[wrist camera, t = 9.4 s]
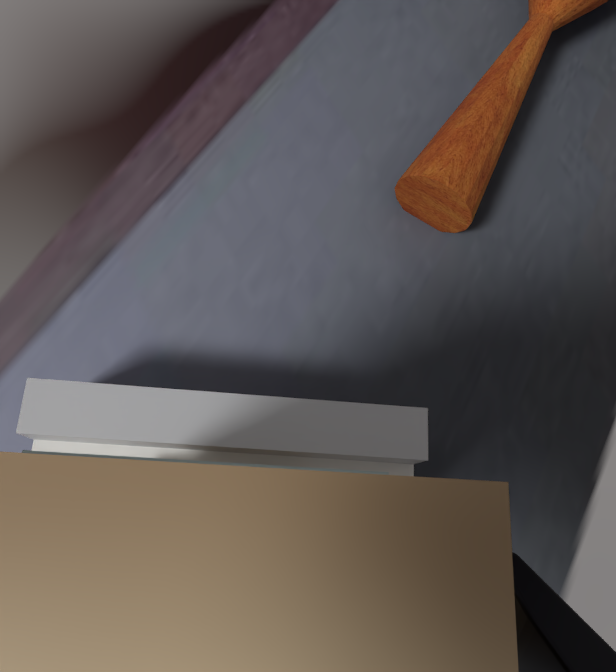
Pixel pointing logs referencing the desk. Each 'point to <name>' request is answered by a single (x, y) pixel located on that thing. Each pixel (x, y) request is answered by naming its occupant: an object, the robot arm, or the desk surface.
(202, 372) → the desk surface
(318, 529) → the beige block with panel
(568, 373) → the desk surface
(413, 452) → the ledge
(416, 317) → the desk surface
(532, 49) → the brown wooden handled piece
